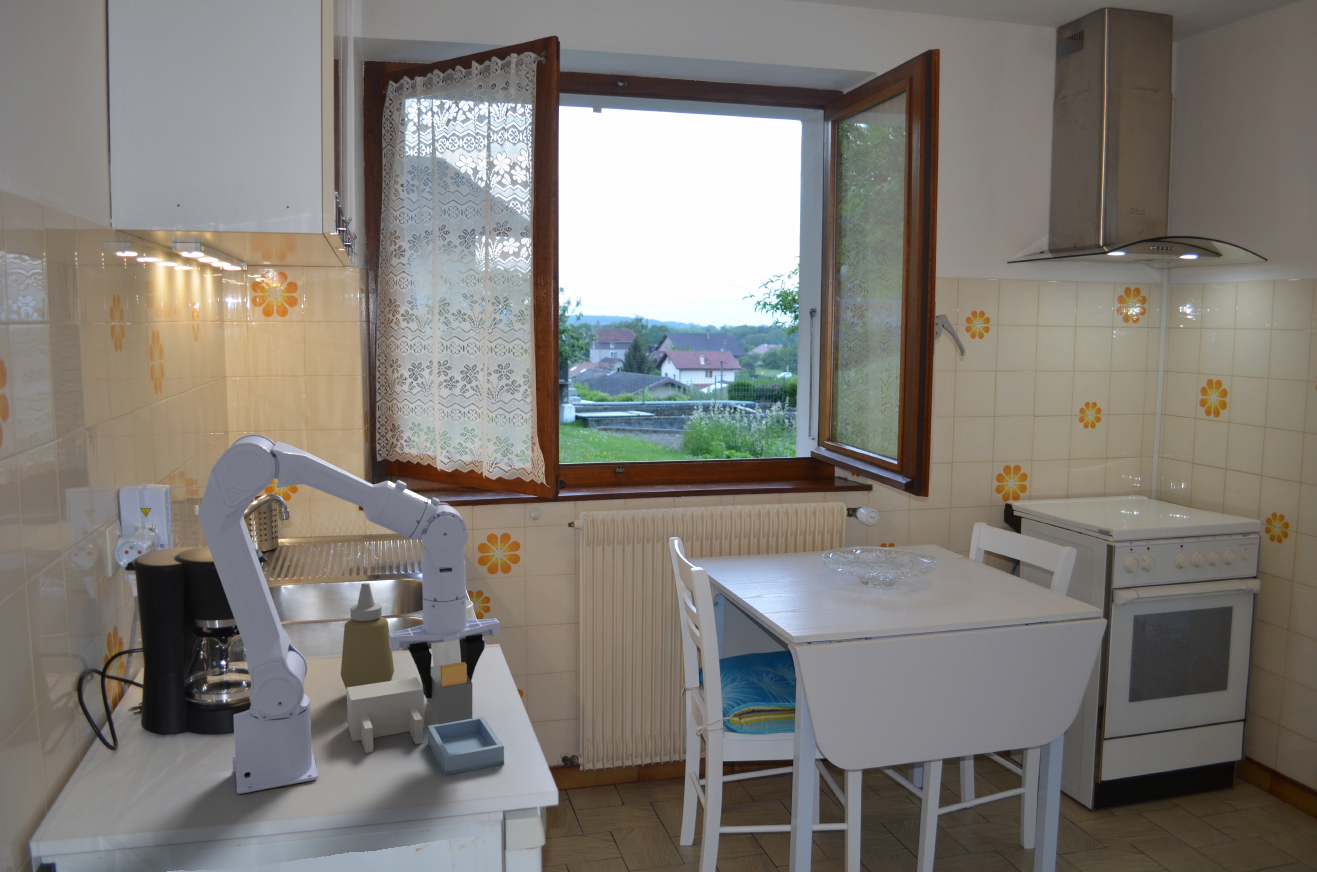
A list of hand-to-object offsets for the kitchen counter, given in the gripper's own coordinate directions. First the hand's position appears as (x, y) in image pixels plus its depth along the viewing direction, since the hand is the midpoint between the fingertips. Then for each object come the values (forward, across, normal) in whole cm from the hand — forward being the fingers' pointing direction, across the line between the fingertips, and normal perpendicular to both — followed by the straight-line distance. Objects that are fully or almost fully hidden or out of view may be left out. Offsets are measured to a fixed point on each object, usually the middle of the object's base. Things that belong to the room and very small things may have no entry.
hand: (446, 692), depth 127 cm
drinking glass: (+9, +5, +19) cm, 21 cm away
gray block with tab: (+2, 0, -2) cm, 2 cm away
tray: (+9, +2, -1) cm, 9 cm away
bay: (+8, -6, +9) cm, 14 cm away
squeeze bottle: (+9, -7, +25) cm, 27 cm away
